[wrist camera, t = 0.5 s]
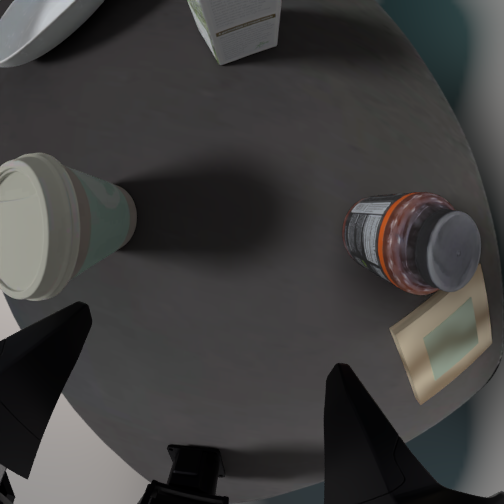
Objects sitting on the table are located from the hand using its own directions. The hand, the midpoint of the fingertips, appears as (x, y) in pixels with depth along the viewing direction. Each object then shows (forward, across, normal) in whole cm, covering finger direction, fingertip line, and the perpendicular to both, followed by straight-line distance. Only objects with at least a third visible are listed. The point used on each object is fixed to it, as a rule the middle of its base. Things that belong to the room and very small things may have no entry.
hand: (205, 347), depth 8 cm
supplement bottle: (+15, -10, 0) cm, 18 cm away
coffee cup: (+13, +12, +3) cm, 18 cm away
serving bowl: (+22, +29, -21) cm, 42 cm away
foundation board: (+12, -24, +8) cm, 27 cm away
